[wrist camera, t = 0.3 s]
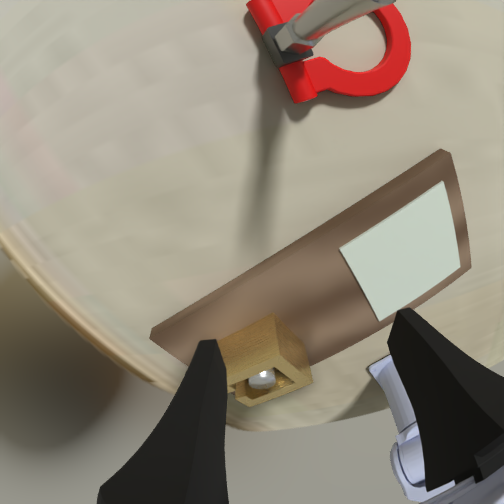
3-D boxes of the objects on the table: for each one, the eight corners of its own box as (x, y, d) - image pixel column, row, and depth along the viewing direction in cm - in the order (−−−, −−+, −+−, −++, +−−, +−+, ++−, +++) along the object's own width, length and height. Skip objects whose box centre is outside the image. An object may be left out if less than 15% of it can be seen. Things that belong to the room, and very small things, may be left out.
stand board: (464, 260, 21) (471, 267, 20) (236, 387, 28) (236, 396, 27) (440, 148, 15) (450, 152, 14) (151, 328, 23) (149, 338, 22)
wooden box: (304, 344, 23) (313, 382, 19) (247, 370, 24) (249, 407, 21) (273, 312, 20) (279, 354, 17) (211, 343, 22) (209, 384, 19)
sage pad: (459, 265, 19) (460, 266, 19) (378, 319, 22) (379, 321, 22) (441, 180, 15) (443, 181, 15) (339, 248, 18) (340, 249, 18)
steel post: (275, 345, 23) (280, 383, 19) (255, 354, 23) (258, 391, 20) (262, 333, 22) (266, 372, 18) (242, 343, 22) (243, 382, 19)
